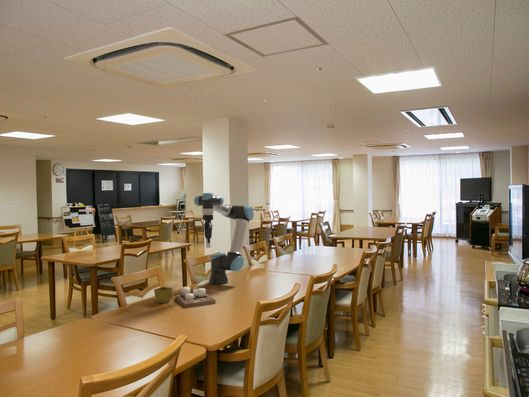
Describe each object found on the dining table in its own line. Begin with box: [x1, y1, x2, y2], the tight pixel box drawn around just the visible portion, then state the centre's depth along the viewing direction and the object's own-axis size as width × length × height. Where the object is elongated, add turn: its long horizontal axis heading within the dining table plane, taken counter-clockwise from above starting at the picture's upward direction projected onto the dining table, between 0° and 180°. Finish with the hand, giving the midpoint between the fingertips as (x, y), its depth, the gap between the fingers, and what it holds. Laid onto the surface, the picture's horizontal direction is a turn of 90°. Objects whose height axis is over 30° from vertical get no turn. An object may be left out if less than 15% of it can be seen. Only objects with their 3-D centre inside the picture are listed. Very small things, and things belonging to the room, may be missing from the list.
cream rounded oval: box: [185, 292, 194, 300], centre depth 256 cm, size 6×6×4 cm
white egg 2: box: [197, 287, 206, 297], centre depth 260 cm, size 6×6×4 cm
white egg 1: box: [181, 286, 191, 295], centre depth 263 cm, size 6×6×4 cm
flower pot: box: [153, 286, 174, 304], centre depth 256 cm, size 9×9×9 cm
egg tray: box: [174, 292, 216, 309], centre depth 259 cm, size 24×20×3 cm
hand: (208, 247), depth 279 cm, fingers closed
